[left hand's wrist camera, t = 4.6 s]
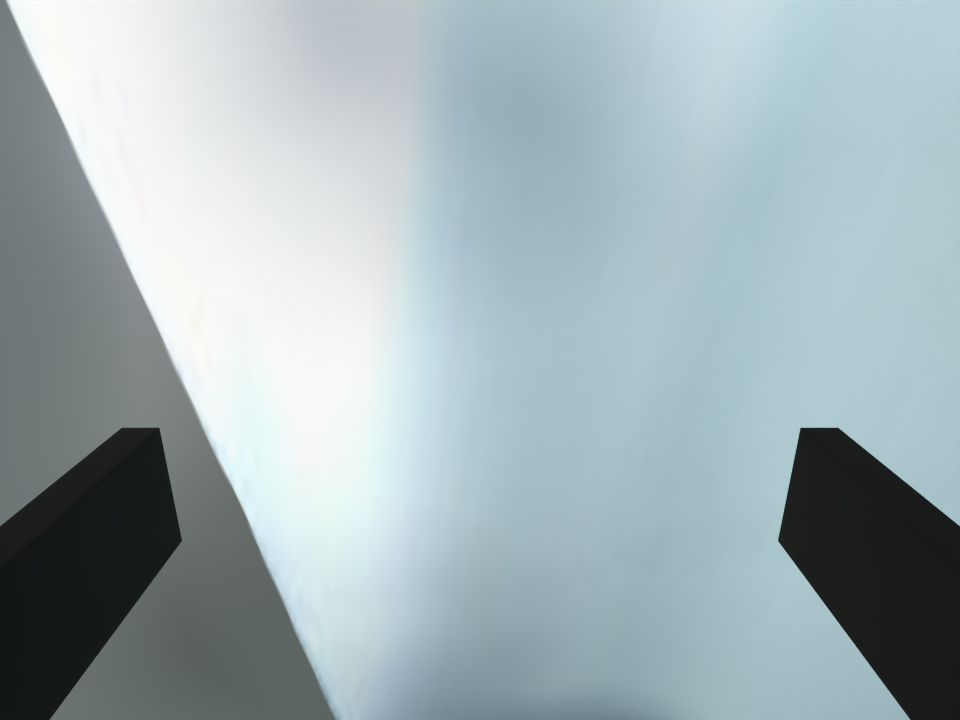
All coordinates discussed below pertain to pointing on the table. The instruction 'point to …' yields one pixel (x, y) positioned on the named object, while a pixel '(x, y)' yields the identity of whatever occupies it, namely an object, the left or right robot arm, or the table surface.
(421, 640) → the table surface
